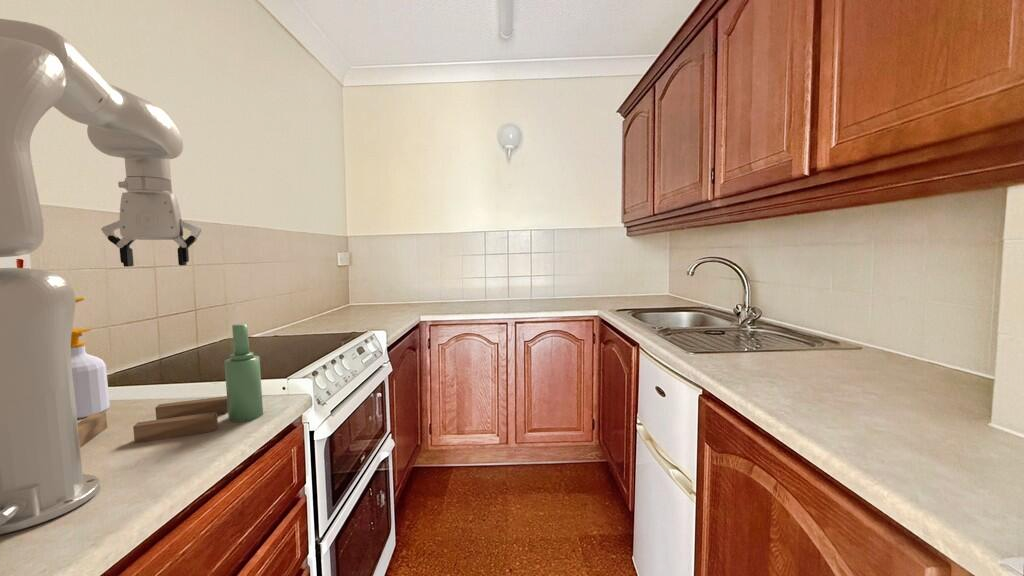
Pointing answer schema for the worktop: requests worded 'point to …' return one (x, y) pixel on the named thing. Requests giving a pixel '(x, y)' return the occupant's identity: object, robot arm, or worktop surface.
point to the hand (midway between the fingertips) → (156, 265)
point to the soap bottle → (88, 378)
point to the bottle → (243, 379)
